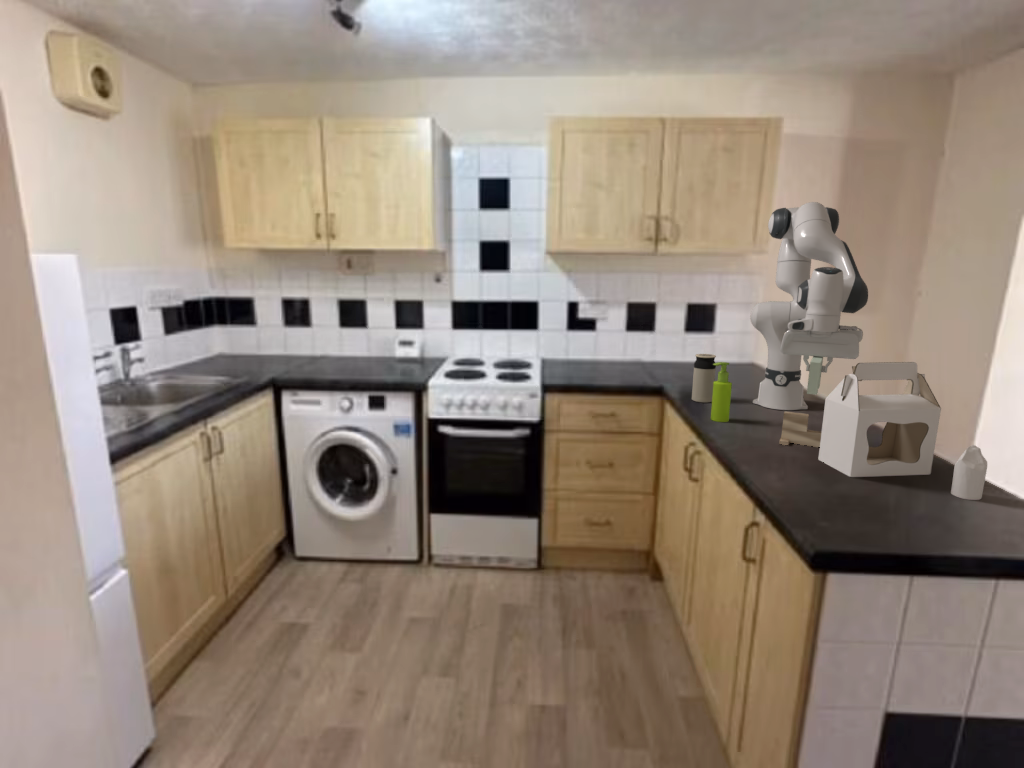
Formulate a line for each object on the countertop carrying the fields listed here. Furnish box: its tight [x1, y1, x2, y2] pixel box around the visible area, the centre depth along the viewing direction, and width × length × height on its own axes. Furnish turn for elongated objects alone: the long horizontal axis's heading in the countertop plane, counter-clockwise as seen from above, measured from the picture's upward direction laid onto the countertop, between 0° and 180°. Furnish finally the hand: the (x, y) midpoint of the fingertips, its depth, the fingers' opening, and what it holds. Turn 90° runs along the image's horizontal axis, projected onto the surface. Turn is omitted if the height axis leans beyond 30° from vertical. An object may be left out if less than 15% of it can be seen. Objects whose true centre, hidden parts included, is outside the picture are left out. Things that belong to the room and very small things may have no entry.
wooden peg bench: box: [778, 410, 822, 448], centre depth 165 cm, size 8×18×9 cm, turn 60°
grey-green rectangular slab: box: [806, 356, 824, 396], centre depth 162 cm, size 14×2×9 cm, turn 149°
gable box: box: [817, 361, 942, 478], centre depth 146 cm, size 22×13×28 cm, turn 95°
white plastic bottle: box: [950, 444, 988, 501], centre depth 129 cm, size 6×12×6 cm
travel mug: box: [691, 353, 717, 404], centre depth 219 cm, size 8×8×18 cm
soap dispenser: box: [710, 361, 733, 423], centre depth 191 cm, size 6×7×20 cm
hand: (816, 371), depth 166 cm, fingers closed on grey-green rectangular slab, 2 cm apart
